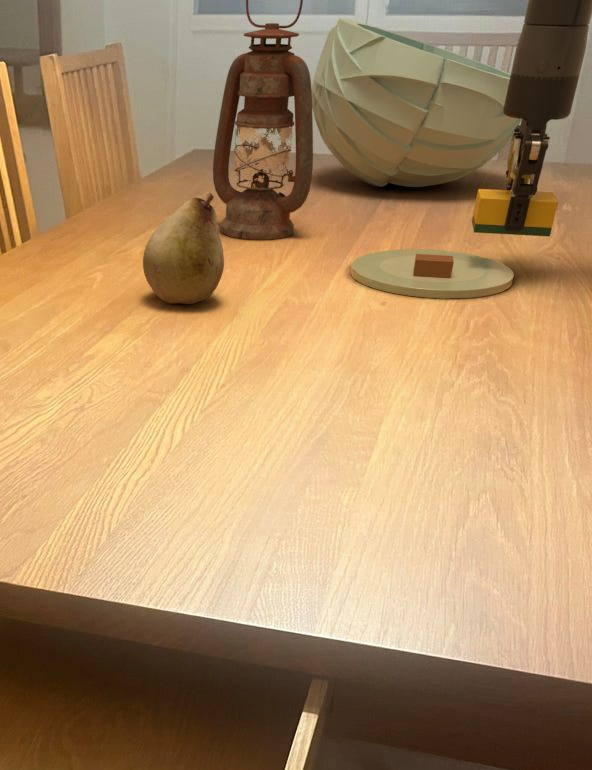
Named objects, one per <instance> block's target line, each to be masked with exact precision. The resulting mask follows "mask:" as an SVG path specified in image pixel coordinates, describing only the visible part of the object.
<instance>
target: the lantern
mask: <svg viewBox="0 0 592 770" xmlns="http://www.w3.org/2000/svg"><path fill="white" fill-rule="evenodd" d="M299 1H300V2H299V8H298V12H297V15H296V17H295V19H294V20H293V22H291V23H290V24H287V25H280V24H279V23H278V22H268V23H265V24H258V23H255V22H254V21H253V20H252V18H251V16H250V12H249V10H250V9H249V0H245V13H246V17H247V20H248V21H249V24H251V25H252V26H253V27H255V28H261V29H258V30H253V31H249V32H244V34H243V37H246V38H250V46H248V49H249V50H251V51H248V52H245V53H242V54H240V55H238V56H237V57H235V59H234V60H233V61H232V63H231V65H230V67H229V69H228V72H227V76H226V80H225V83H224V84H225V85H224V89H223V95H222V100H221V105H220V111H219V118H218V124H217V130H216V136H215V143H214V150H213V151H214V152H213V161H212V181H213V185H214V191H215V192H216V194H217V196H218V198H219V199H220V200H221V202H223V203H224V204H225V206H226V207H225V217H224V218H223V220H222V221H221V222H220V224H219V232H220V233H221V234H222V235H224V236H227V237H231V238H234V239H240V240H241V239H242V240H255V241H269V240H278V239H283V238H287V237H290V236H292V235H293V234H294V228H295V224H294V223H293V221H292V220H291V218H290V217H291V213H294V212H296V211H297V210H299V209H300V208H301V207H302V206H303V205H304V203H305V202H306V201H307V198H308V195H309V193H310V191H311V185H312V180H313V167H314V126H313V125H314V124H313V122H314V121H313V118H314V117H313V108H312V80H311V73H310V70H309V67H308V65H307V62H305V60H304V59H303V58H302V57H300V56H299V55H295V53H294V52H292V51H291V50H292V49H293V46H292V45H291V42H292V38H297V37H299V36H300V33H299V32H295V31H291V30H285V29H289V28H292V27H293V26H294V25H295V24H296V23H297V22H298V20H299V18H300V16H301V12H302V10H303V9H302V8H303V3H304V0H299ZM255 39H260V40H259V41H260V42H259V43H256V44H255ZM268 39H269V40H275V43H267V40H268ZM282 39H287V44H285V43H282ZM240 97H243V98H244V99H243V108H242V109H241V110H240V111H238V107H239V103H240ZM291 97H293V100H294V113H293V112H292V111H291V110H290V109H289V101H290V100H289V98H291ZM235 126H236V131H235ZM262 129H263V130H266V131H265V132H266V133H265V132H262V133H260V134H259V132H258V131H259V130H262ZM293 129H295V130H293ZM234 131H235V133H234ZM294 132H295V168H294V169H295V171H293V169H288V166H289V161H290V156H291V151H292V143H293V135H294V134H293V133H294ZM234 134H235V137H234V139H237V138H238V139H239V141H241V144H238V143H236V142H237V141H234V148H233V153H234V164H235V165H234V166H235V169H234V170H233V171H234V172H235V175H237V176H238V181H237V183H236V186H237V187H238V188H241V189H244V190H243V191H239V190H237V189H236V188H234V187H233V186H232V185H231V184H232V183H231V181H230V176H229V174H230V173H229V171H230V170H229V169H230V166H229V165H230V157H231V149H232V142H233V136H234ZM269 135H274V136H275V135H279V136H278V138H276V141H280V144H279V145H277V147H278V148H277V147H276V146H275V147H274V142H273V141H272V140H271V141H270V139H268V138H270V136H269ZM289 141H291V142H289ZM287 142H288V144H287ZM280 166H281V167H280ZM265 168H267V169H265ZM279 168H281V169H280V170H279ZM241 171H242V172H241ZM275 172H276V174H274V173H275ZM278 172H279V175H278V174H277V173H278ZM284 172H286V173H284ZM242 173H243V175H244V176H245V177H247V178H245V179H243V180H241V174H242ZM251 174H252V175H251ZM273 176H274V177H279V178H281V180H280V181H279V179H276V178H275V179H276V180H272V179H273ZM286 177H287V182H288V183H293V186H292V188H291V191H290V193H289V194H288V195H285V194H284V193H282V192H281V191H279V192H277V191H275V190H276V189H281V188H283V187H284V185H285V184H284V180H285V178H286ZM241 183H247V186H245V185H243V184H241ZM270 183H276V184H278V185H279V186H278V185H275V186H273V187H272V186H270ZM240 184H241V185H240ZM248 186H249V187H248Z"/></svg>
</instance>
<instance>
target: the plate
mask: <svg viewBox="0 0 592 770" xmlns="http://www.w3.org/2000/svg"><path fill="white" fill-rule="evenodd" d="M416 254H429V255H447V256H453V260H454V263H453V268H452V274H451V278H437V277H421V276H413V268H414V263H415V257H416ZM350 268H351V269H350V275H351V277H352V278H353V279H354V280H355V281H357V282H359V284H362V285H364V286H366V287H369V288H372V289H375V290H379V291H383V292H387V293H390V294H396V295H401V296H408V297H417V298H425V299H426V298H427V299H428V298H429V299H449V300H451V299H452V300H453V299H471V298H472V299H473V298H482V297H488V296H492V295H495V294H496V295H497V294H500V293H502V292H505V291H507V290H508V289H509V288H510V287H512V285H513V281H514V277H515V273H514V272H513V270H512V269H511V268H510V267H509V266H507V265H505V264H503V263H501V262H499V261H496V260H494V259H490V258H487V257H483V256H479V255H475V254H470V253H464V252H457V251H448V250H440V249H439V250H438V249H419V248H418V249H417V248H416V249H415V248H413V249H412V248H409V249H406V248H405V249H391V250H382V251H381V250H380V251H375V252H371V253H366V254H363V255H360V256H358V257H357V258H355V259H354V260H353V261H352V263H351V266H350Z"/></svg>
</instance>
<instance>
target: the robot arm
mask: <svg viewBox="0 0 592 770" xmlns="http://www.w3.org/2000/svg"><path fill="white" fill-rule="evenodd" d="M591 20H592V0H527V6H526V10H525V14H524V20H523V25H522V27H521V32H520V35H519V38H518V41H517V44H516V47H515V52H514V56H513V61H512V65H511V66H512V67H511V72H510V74H511V75H510V80H509V85H508V90H507V95H506V99H505V104H504V109H503V112H504V114H505V115H506V116H508V117H512V118H518V119H522V120H521V122H520V124H519V125H517V126H516V128H515V130H514V132H513V135H512V137H511V138H510V151H509V153H508V154H509V155H508V158H507V163H506V164H507V165H506V172H505V176H506V177H505V186H506V189H505V190H511V191H510V194H511V198H510V203H509V207H508V212H507V217H506V221H505V229H506V230H507V231H521V230H523V228H524V224H525V220H526V216H527V211H528V207H529V203H530V198H532V197H533V195H535V193H536V192H538V185H539V181H540V177H541V175H542V172H543V167H544V160H545V158H546V154H547V151H548V149H549V146H550V139H551V136H548V133H547V132H546V131H547V126H548V125H547V124H548V123H549V122H550V121H552V120H555V121H559V120H564V119H567V118H568V117H569V116H570V114H571V112H572V108H573V104H574V100H575V96H576V92H577V87H578V83H579V80H580V75H581V71H582V67H583V63H584V59H585V54H586V50H587V45H588V35H589V29H590V24H591Z"/></svg>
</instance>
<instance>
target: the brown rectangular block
mask: <svg viewBox="0 0 592 770" xmlns="http://www.w3.org/2000/svg"><path fill="white" fill-rule="evenodd" d="M453 263H454V260H453V256H447V255H429V254H416V257H415V263H414V268H413V276H421V277H437V278H451V274H452V268H453Z"/></svg>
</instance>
